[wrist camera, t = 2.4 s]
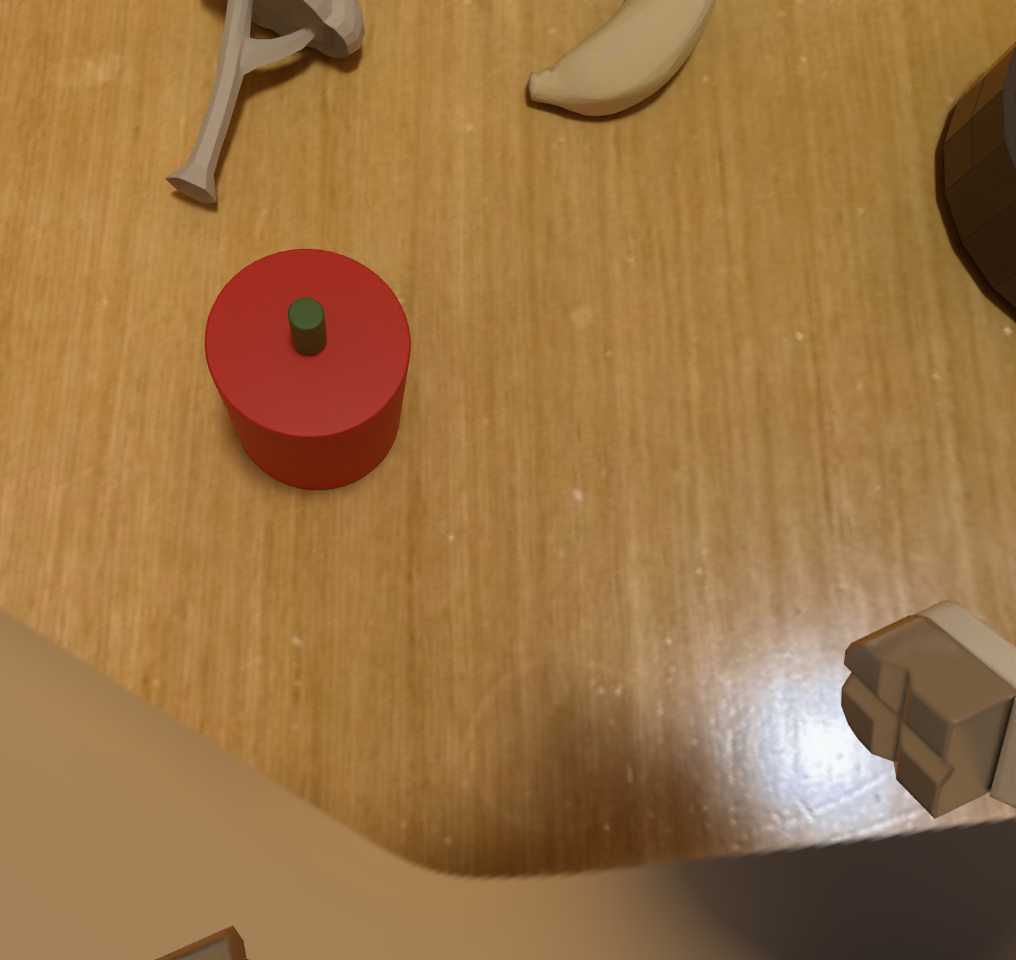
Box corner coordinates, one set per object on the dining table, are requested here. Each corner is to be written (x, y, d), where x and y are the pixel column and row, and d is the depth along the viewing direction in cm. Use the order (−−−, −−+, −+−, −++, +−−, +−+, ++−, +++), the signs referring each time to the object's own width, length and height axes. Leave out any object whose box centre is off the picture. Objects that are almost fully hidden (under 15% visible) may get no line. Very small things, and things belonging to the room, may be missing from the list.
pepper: (414, 474, 33) (434, 398, 25) (249, 503, 32) (210, 433, 24) (383, 325, 35) (392, 202, 26) (223, 348, 33) (176, 227, 25)
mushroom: (94, 123, 30) (227, -174, 32) (104, 169, 35) (221, -94, 36) (291, 216, 33) (406, -66, 34) (277, 249, 37) (379, -3, 39)
